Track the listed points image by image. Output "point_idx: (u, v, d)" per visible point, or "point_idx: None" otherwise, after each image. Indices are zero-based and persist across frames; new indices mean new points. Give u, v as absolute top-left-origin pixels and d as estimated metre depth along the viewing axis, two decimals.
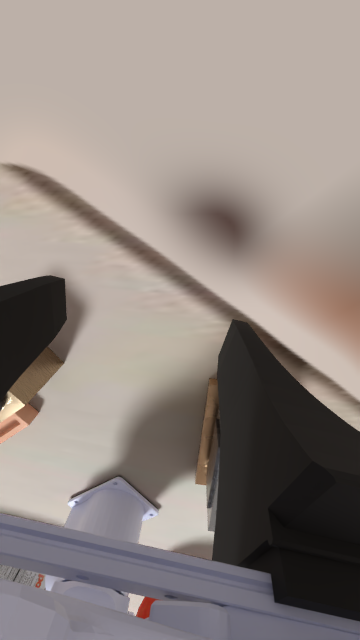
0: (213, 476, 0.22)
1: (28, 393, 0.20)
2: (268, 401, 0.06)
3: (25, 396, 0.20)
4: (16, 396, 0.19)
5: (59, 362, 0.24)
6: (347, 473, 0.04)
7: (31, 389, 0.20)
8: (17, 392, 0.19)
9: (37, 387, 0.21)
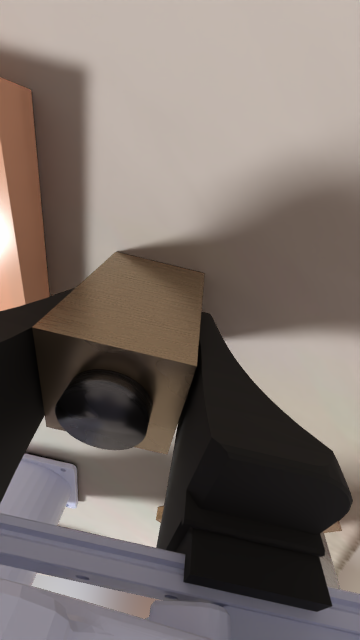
0: None
1: None
2: (202, 385, 0.06)
3: None
4: (172, 435, 0.08)
5: None
6: (244, 449, 0.04)
7: None
8: None
9: None
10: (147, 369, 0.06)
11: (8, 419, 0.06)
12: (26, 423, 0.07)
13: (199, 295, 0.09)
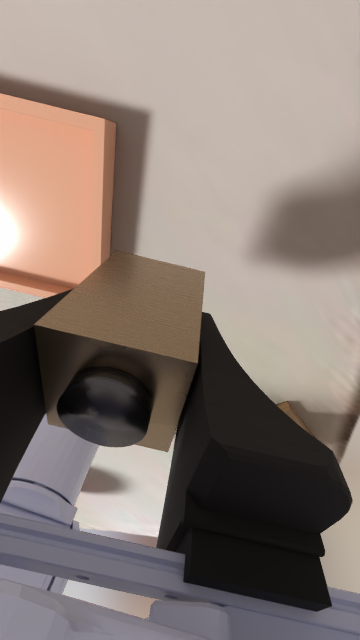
0: None
1: None
2: (201, 385, 0.06)
3: None
4: (173, 433, 0.08)
5: None
6: (244, 449, 0.04)
7: None
8: None
9: None
10: (148, 367, 0.06)
11: (8, 419, 0.06)
12: (26, 423, 0.07)
13: (199, 293, 0.09)
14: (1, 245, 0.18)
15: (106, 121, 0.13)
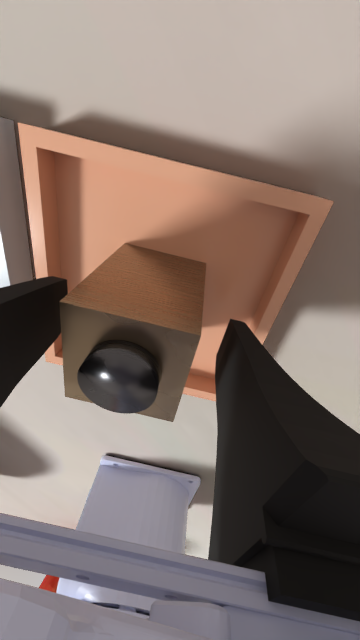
0: None
1: None
2: (263, 400, 0.06)
3: None
4: (178, 403, 0.09)
5: None
6: (340, 472, 0.04)
7: None
8: None
9: None
10: (157, 339, 0.07)
11: None
12: None
13: (202, 281, 0.10)
14: None
15: (330, 202, 0.09)
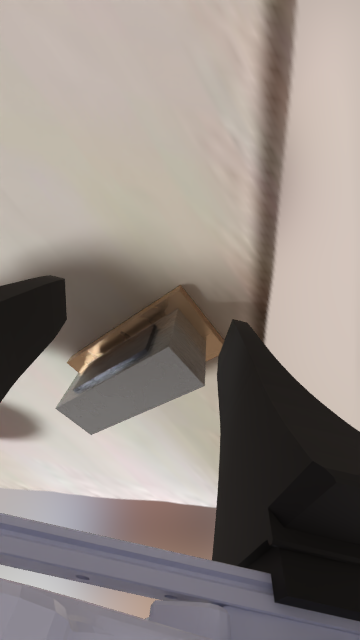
0: (110, 369, 0.19)
1: None
2: (268, 401, 0.06)
3: None
4: None
5: None
6: (347, 473, 0.04)
7: None
8: None
9: None
10: None
11: None
12: None
13: None
14: None
15: None
